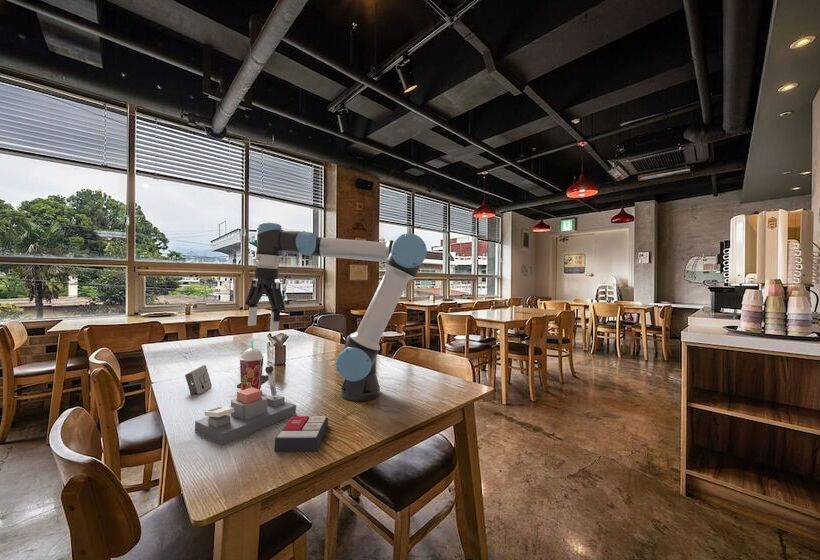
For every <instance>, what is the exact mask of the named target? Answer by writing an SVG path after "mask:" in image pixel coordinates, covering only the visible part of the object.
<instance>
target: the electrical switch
mask: <svg viewBox="0 0 820 560" xmlns="http://www.w3.org/2000/svg"><path fill="white" fill-rule="evenodd" d="M207 367H208V366H207V365H206V364H204V365H200V366H199V367H197V368H195V369H193V370H191V371H190V372H188V373H186V374H185V376H184V377H185V380H186V382H187V386H188V389H189V390H188V391H189V393H190V395H194V394H196V395H201V394H203V393H204V392H206V391H207V390H208V389H210V388H212V386H213V385H212V381H211V379H210V373H209V372H208V371H209V370H208V368H207Z"/></svg>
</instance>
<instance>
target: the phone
mask: <svg viewBox="0 0 820 560" xmlns="http://www.w3.org/2000/svg"><path fill="white" fill-rule="evenodd" d="M267 381H269V378H268V374H267V375H265V374H264V375H263V374H262V380H261V385H262V384H263V383H266V382H267ZM236 388H237V389H241V382H240V383H238V384H237V385H236Z"/></svg>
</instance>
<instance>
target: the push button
mask: <svg viewBox="0 0 820 560" xmlns="http://www.w3.org/2000/svg"><path fill="white" fill-rule="evenodd" d="M262 396H263V390H262V389H260V390H259V389H256V388H253V387H251V388H248V389H245V390H241V389H240V390H237V391H236V398H237V401H238V402H241V403H244V404H249V403H252V402H255V401H258V400H261V399H262Z"/></svg>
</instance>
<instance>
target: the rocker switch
mask: <svg viewBox="0 0 820 560" xmlns="http://www.w3.org/2000/svg"><path fill="white" fill-rule="evenodd" d="M233 412H234V408H231V406H230V407H229V406H218V407H215V408H211V409H208V410H205V411H204V416H205V417H208V416H210V417H221V416H224V415H227V414H230V413H233Z"/></svg>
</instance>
